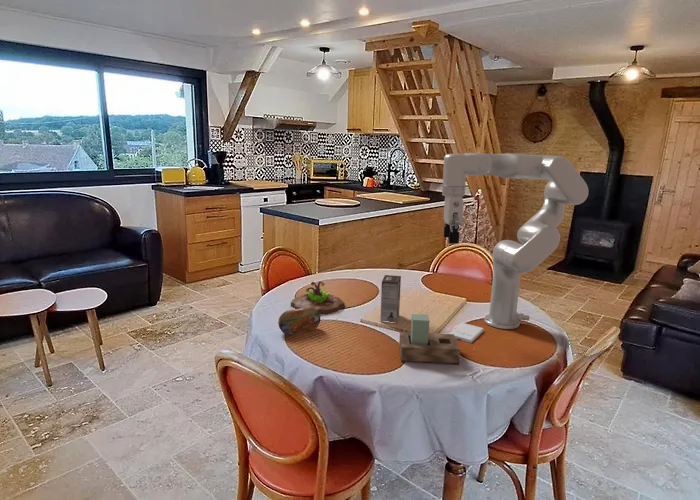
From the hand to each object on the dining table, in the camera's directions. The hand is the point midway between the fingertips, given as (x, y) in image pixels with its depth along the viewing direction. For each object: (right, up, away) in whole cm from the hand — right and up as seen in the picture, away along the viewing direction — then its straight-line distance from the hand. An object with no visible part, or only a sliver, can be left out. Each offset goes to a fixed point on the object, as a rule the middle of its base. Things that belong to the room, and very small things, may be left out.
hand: (450, 240), depth 154 cm
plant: (-48, -27, +27) cm, 61 cm away
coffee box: (-20, -30, +15) cm, 39 cm away
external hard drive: (+6, -34, +2) cm, 34 cm away
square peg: (-14, -36, -14) cm, 41 cm away
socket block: (-11, -37, -14) cm, 41 cm away
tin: (-53, -32, +2) cm, 62 cm away
